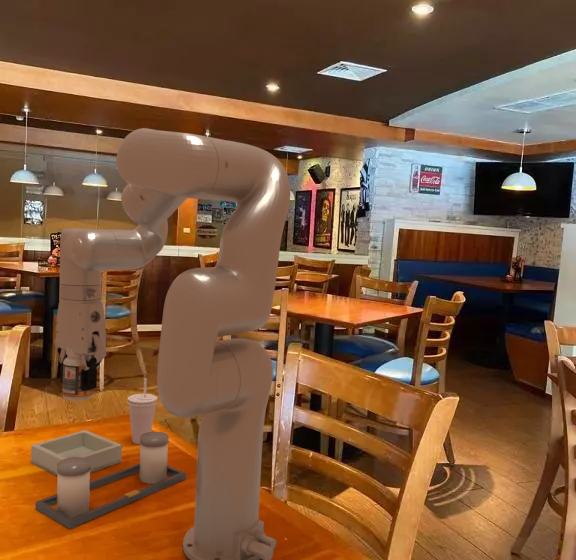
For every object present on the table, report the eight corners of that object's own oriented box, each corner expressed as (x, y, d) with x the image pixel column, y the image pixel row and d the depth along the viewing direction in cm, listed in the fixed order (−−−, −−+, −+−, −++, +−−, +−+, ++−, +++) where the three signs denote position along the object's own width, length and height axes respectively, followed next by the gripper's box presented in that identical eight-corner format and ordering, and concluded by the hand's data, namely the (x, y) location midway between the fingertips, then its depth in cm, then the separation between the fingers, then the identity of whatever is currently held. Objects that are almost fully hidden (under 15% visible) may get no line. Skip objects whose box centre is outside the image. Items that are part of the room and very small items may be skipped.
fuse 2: (172, 477, 111) (174, 436, 111) (151, 486, 107) (153, 443, 107) (154, 469, 114) (155, 429, 114) (132, 478, 110) (134, 436, 110)
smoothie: (146, 448, 125) (148, 383, 123) (119, 443, 127) (121, 379, 125) (161, 438, 131) (163, 376, 129) (136, 433, 133) (138, 372, 131)
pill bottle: (83, 403, 111) (84, 351, 110) (56, 399, 112) (57, 348, 111) (99, 395, 117) (100, 345, 116) (72, 391, 118) (73, 343, 117)
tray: (121, 462, 117) (121, 445, 117) (67, 481, 107) (67, 462, 107) (84, 446, 124) (85, 429, 124) (31, 462, 114) (31, 445, 114)
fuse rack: (186, 479, 111) (186, 472, 111) (70, 529, 91) (70, 520, 91) (151, 464, 117) (151, 457, 117) (35, 508, 97) (35, 500, 97)
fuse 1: (96, 509, 98) (97, 463, 97) (68, 521, 94) (69, 472, 93) (77, 499, 101) (78, 454, 100) (49, 510, 97) (50, 463, 96)
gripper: (125, 297, 111) (122, 391, 112) (71, 287, 121) (69, 373, 122) (91, 300, 105) (88, 399, 106) (37, 289, 115) (35, 380, 116)
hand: (78, 384), depth 114 cm, fingers closed on pill bottle, 5 cm apart
